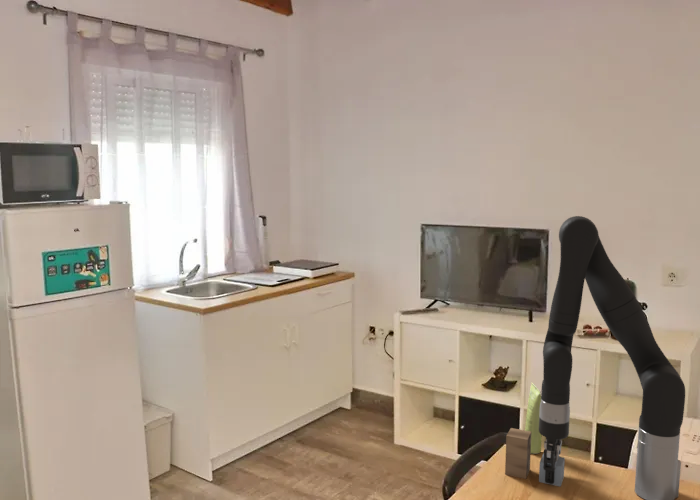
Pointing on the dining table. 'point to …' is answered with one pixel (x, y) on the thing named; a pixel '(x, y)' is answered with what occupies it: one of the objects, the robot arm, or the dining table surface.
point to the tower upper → (518, 443)
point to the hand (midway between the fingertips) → (551, 477)
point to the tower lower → (517, 466)
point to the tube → (534, 419)
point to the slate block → (558, 471)
